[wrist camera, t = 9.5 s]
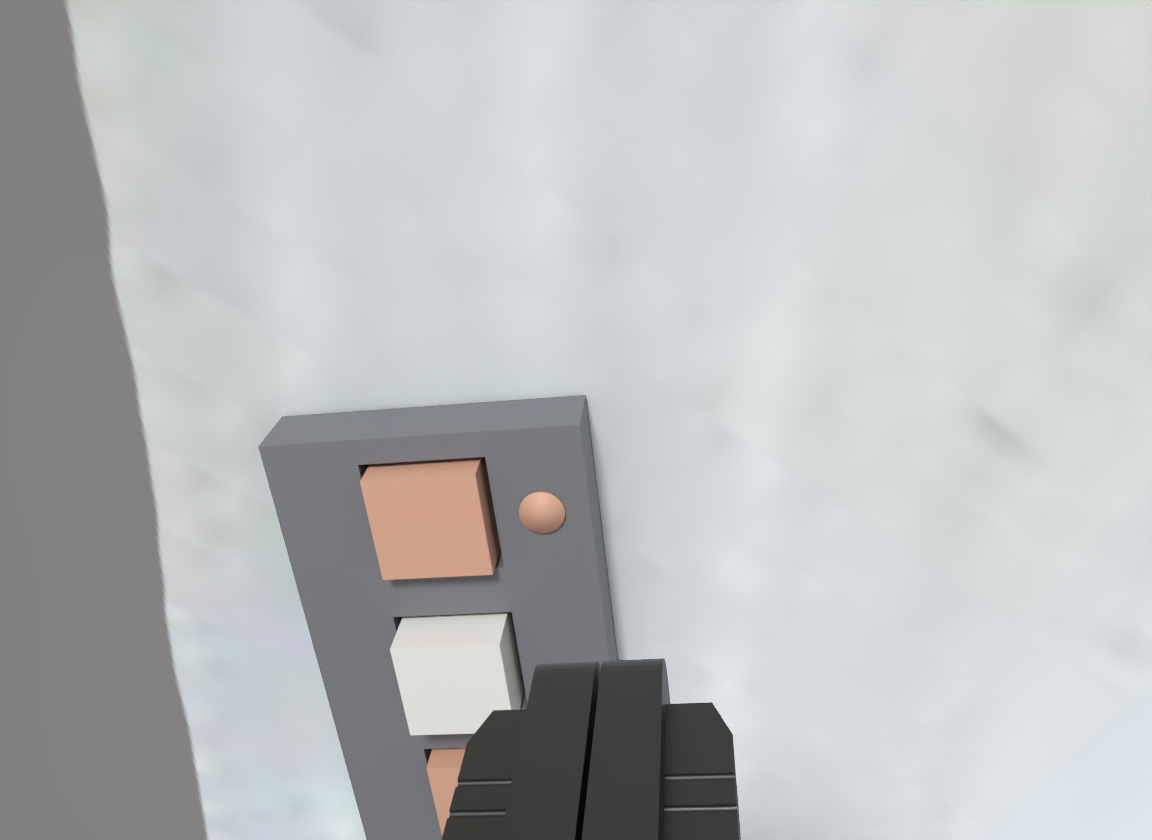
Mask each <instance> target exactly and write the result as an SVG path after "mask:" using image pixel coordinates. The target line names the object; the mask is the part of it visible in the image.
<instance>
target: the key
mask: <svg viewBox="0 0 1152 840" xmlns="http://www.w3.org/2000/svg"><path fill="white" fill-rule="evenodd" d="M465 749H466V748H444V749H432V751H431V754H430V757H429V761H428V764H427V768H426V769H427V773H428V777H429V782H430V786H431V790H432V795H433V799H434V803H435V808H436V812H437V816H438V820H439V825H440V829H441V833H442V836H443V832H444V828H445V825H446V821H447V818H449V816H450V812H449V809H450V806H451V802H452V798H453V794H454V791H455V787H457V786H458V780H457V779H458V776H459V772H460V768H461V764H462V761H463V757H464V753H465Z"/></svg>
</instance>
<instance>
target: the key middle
mask: <svg viewBox="0 0 1152 840" xmlns="http://www.w3.org/2000/svg"><path fill="white" fill-rule="evenodd" d="M390 652H391V656H392V660H393V665H394V669H395V673H396V677H397V681H398V686H399V690H400V694H401V698H402V702H403V707H404V711H405V715H406V719H407V724H408V728H409V732H410V735H443V734H475V732H476V731H477V730H478V729H479V727H480V726H481V725H482V724H483V722H484V721H485V720H486V719H487V717H488V716H489V715H490V714H491V712H492V711H493V710H520V706H521V701H522V696H523V691H524V687H523V681H522V675H521V669H520V664H519V658H518V652H517V646H516V640H515V635H514V629H513V623H512V617H511V612H496V613H474V614H451V615H428V616H405V617H402V620H401V622H400V625H399V627H398V630H397V632H396V635H395V638H394V640H393V643H392V645H391V648H390Z"/></svg>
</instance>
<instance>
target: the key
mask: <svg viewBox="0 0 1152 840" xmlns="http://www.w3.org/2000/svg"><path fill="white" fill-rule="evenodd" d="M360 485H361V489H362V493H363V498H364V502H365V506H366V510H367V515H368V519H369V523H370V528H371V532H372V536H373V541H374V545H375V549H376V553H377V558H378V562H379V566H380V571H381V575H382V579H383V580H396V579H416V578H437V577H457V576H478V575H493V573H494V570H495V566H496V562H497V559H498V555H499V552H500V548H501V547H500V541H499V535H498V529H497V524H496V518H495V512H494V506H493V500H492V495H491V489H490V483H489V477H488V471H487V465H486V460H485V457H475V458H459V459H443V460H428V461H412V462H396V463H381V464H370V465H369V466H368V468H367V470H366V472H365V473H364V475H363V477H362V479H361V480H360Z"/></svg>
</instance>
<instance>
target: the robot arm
mask: <svg viewBox="0 0 1152 840" xmlns="http://www.w3.org/2000/svg"><path fill="white" fill-rule="evenodd" d="M457 780H458V786H457V787H455V791H454V794H453V798H452V802H451V806H450V809H449V812H450V816H449V818H447V821H446V825H445V828H444V832H443V836H442V840H741V837H740V824H739V811H738V798H737V785H736V772H735V759H734V746H733V735H732V733H731V731H730V730H729V728H728V727H727V725H726V724H725V722H724V721H723V719H722V717H721V716H720V714H719V713H718V711H717V710H716V708H715V707H714V705H713V704H712V703H687V704H670V696H669V687H668V678H667V669H666V663H665V659H644V660H619V661H603V662H602V665H601V666H600V664H599V662H576V663H551V664H537V665H536V667H535V670H534V674H533V678H532V683H531V688H530V693H529V698H528V703H527V708H526V709H521V710H493V711H492V712H491V714H490V715H489V716H488V717H487V719H486V720H485V721H484V722H483V724H482V725H481V726H480V727H479V729H478V730H477V731H476V732H475V734H474V735H473V736H472V737H471V739H470V740H469V741H468V742H467V745H466V749H465V753H464V757H463V761H462V764H461V768H460V772H459V776H458V779H457Z"/></svg>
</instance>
